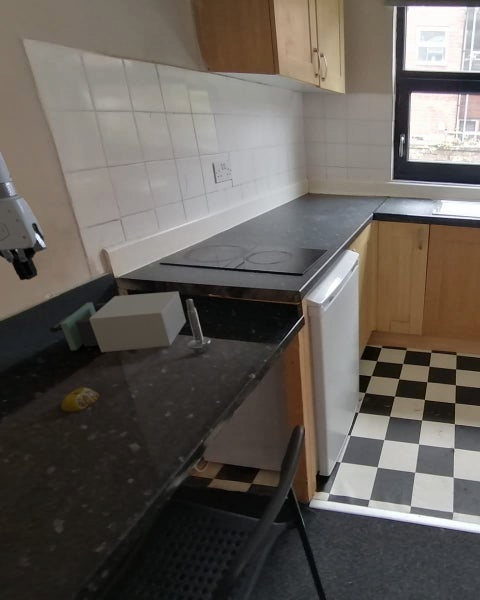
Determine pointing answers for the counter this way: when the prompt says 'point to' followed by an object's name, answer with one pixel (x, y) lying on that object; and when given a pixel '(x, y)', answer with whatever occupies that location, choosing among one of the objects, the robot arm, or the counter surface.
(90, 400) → the fruit
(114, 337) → the pale grey box
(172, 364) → the counter surface
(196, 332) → the screw
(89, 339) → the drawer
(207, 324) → the counter surface
